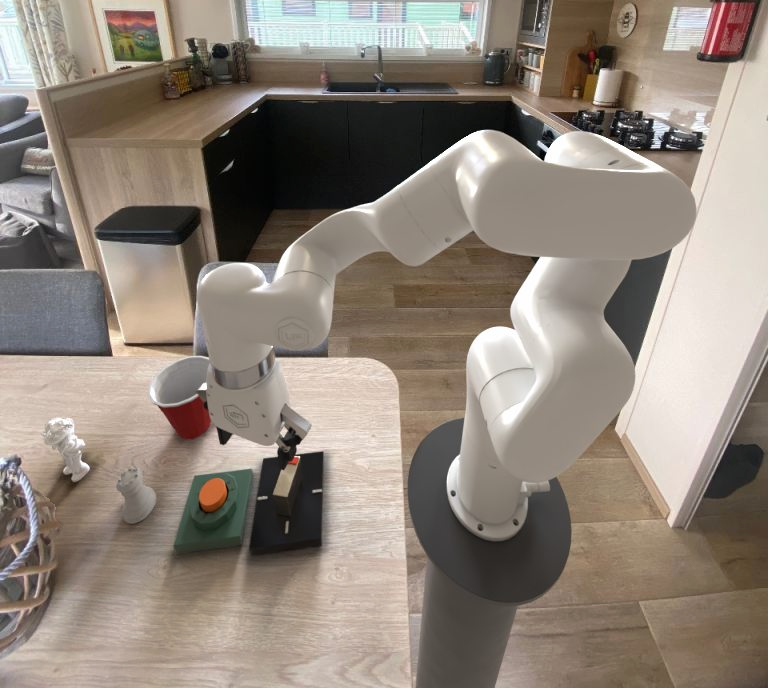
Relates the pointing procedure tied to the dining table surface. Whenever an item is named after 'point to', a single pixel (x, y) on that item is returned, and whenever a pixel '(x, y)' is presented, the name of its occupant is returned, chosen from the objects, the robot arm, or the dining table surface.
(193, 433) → the plastic cup
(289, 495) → the knob
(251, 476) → the button block
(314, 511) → the panel
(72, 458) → the hat wearing toy figure
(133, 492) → the rook chess piece
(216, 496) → the button
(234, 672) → the dining table surface
